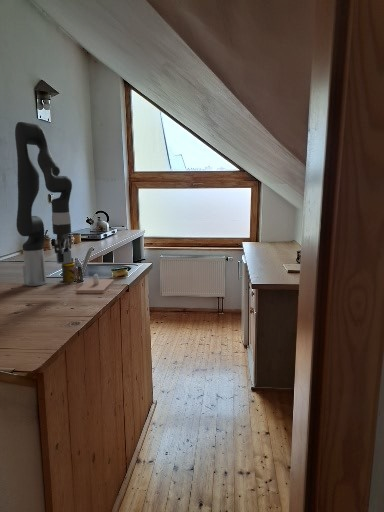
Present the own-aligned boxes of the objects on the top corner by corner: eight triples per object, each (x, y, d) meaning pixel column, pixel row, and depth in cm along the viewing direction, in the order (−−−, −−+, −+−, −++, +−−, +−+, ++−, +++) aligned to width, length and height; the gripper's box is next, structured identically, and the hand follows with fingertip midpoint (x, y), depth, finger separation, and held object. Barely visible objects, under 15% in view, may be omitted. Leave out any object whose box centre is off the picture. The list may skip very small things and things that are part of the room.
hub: (54, 263, 156) (54, 252, 155) (60, 260, 162) (59, 250, 161) (68, 263, 156) (67, 252, 155) (73, 261, 162) (72, 250, 161)
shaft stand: (76, 293, 160) (75, 279, 159) (90, 282, 179) (89, 269, 177) (103, 293, 160) (102, 279, 158) (114, 282, 178) (113, 269, 177)
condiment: (78, 282, 180) (76, 258, 178) (60, 284, 175) (58, 260, 173) (74, 279, 186) (72, 256, 184) (57, 281, 181) (55, 258, 179)
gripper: (59, 221, 163) (62, 257, 166) (45, 224, 149) (48, 264, 152) (75, 221, 163) (78, 257, 166) (63, 224, 149) (66, 264, 152)
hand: (64, 260), depth 159 cm, fingers closed on hub, 6 cm apart
